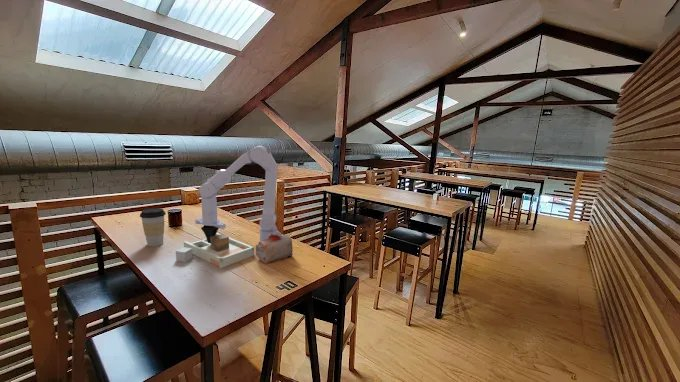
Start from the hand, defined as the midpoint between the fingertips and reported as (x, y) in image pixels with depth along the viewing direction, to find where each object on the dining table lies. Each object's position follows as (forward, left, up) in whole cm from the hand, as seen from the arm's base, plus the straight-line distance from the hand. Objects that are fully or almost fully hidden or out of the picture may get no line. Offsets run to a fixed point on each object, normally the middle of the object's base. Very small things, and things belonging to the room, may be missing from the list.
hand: (211, 242), depth 124 cm
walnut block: (-6, 0, -1) cm, 6 cm away
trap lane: (-5, 0, -3) cm, 6 cm away
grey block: (-1, +12, -3) cm, 12 cm away
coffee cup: (+23, +12, -3) cm, 26 cm away
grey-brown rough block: (-26, -11, -3) cm, 29 cm away
